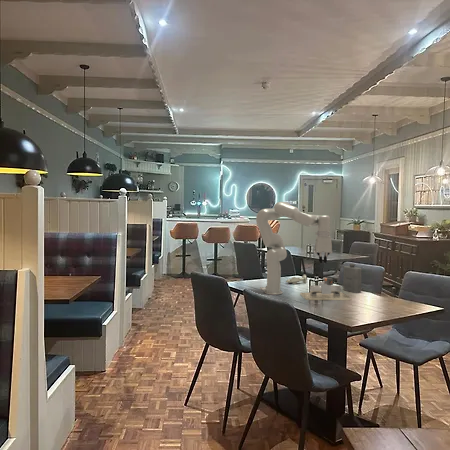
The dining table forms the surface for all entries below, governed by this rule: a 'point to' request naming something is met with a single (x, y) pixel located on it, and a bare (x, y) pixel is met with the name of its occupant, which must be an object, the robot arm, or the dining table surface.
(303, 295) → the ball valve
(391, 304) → the dining table surface
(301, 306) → the dining table surface
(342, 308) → the dining table surface
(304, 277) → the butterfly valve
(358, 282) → the flask
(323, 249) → the robot arm
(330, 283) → the valve lever
